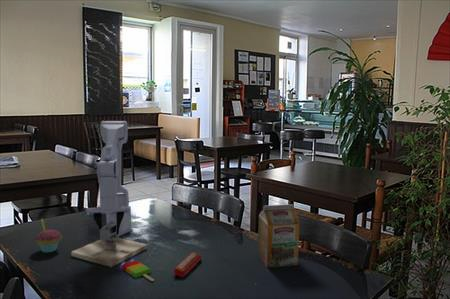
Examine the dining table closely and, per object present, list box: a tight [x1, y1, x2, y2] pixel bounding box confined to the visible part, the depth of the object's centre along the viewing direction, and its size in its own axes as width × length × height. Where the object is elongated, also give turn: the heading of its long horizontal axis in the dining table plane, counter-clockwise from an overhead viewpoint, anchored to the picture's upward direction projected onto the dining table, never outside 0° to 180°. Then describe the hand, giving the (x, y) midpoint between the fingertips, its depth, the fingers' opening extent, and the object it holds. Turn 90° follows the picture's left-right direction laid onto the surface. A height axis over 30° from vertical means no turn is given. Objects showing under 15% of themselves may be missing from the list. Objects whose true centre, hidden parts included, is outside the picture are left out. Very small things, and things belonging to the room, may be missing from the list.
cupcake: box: [34, 217, 63, 253], centre depth 145 cm, size 9×8×12 cm
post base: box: [71, 237, 148, 268], centre depth 144 cm, size 18×18×4 cm
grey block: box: [99, 222, 120, 243], centre depth 144 cm, size 8×6×5 cm
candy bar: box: [173, 251, 202, 278], centre depth 133 cm, size 16×4×3 cm, turn 161°
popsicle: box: [121, 260, 155, 282], centre depth 128 cm, size 6×15×2 cm, turn 42°
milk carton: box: [257, 203, 300, 268], centre depth 138 cm, size 11×11×19 cm
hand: (109, 233), depth 144 cm, fingers closed on grey block, 5 cm apart
